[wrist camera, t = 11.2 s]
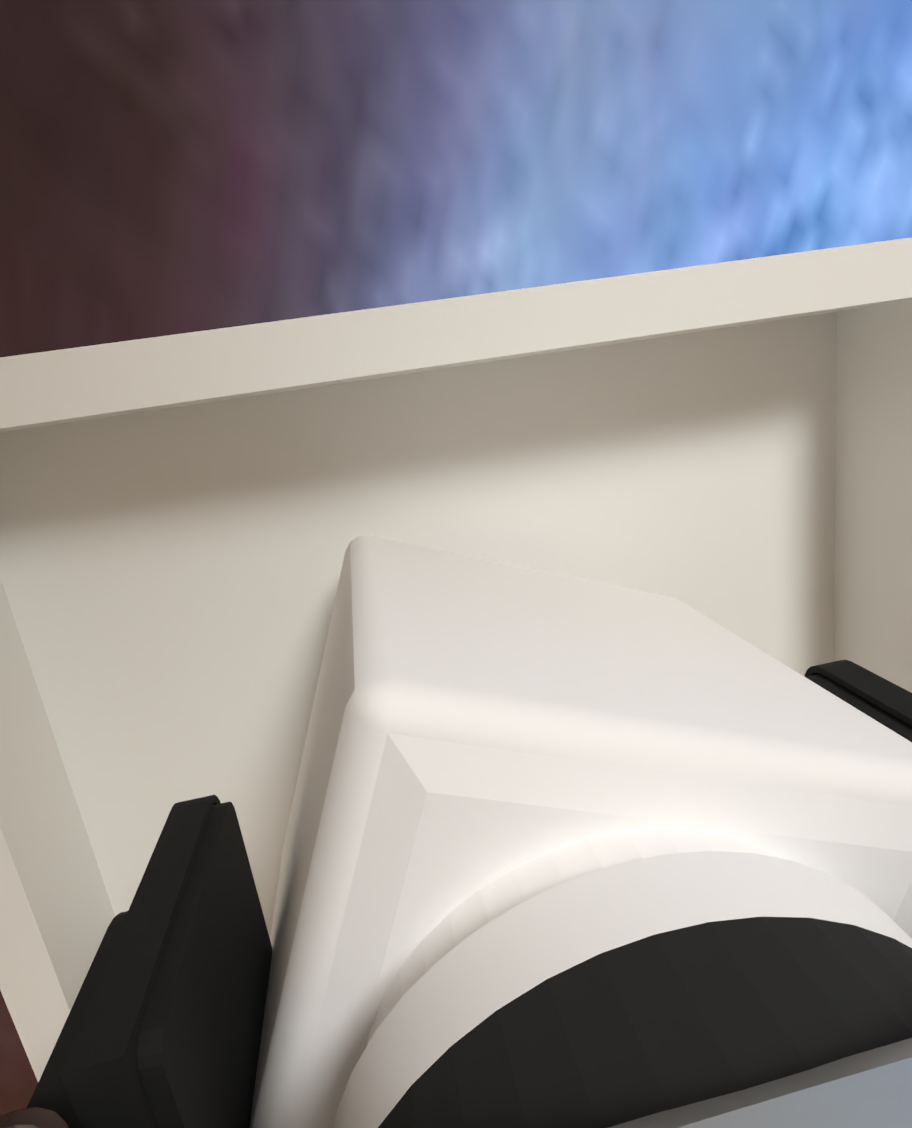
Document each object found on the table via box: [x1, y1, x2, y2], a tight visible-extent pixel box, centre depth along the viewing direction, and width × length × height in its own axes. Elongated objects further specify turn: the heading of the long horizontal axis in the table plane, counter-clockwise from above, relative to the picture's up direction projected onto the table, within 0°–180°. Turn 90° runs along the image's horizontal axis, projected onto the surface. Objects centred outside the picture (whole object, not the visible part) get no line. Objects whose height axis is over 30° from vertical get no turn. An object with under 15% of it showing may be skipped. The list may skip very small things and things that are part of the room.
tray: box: [0, 238, 912, 1082], centre depth 14 cm, size 16×20×3 cm
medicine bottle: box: [249, 536, 912, 1128], centre depth 8 cm, size 7×7×12 cm
